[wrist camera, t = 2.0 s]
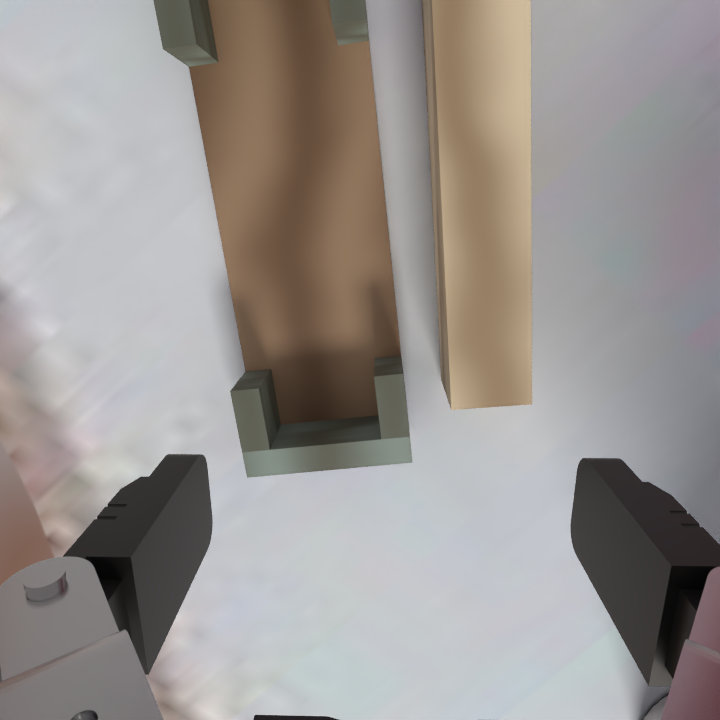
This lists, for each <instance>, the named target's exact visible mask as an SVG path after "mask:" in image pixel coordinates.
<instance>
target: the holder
mask: <svg viewBox="0 0 720 720" xmlns="http://www.w3.org/2000/svg"><path fill="white" fill-rule="evenodd" d="M154 5H155V10H156V15H157V20H158V25H159V30H160V35H161V41H162V46H163V49H164V50H165V51H167V52H168V53H170V54H171V55H173V56H174V57H175V58H177V59H178V60H180V61H181V62H183V63H184V64H186V65H187V66H189V69H190V74H191V79H192V85H193V90H194V96H195V101H196V106H197V112H198V117H199V123H200V128H201V133H202V139H203V144H204V149H205V155H206V160H207V166H208V171H209V176H210V182H211V187H212V192H213V198H214V203H215V209H216V214H217V219H218V225H219V230H220V235H221V241H222V246H223V252H224V257H225V262H226V268H227V273H228V278H229V284H230V289H231V295H232V300H233V305H234V311H235V316H236V321H237V327H238V332H239V338H240V343H241V348H242V354H243V359H244V364H245V370H246V372H245V373H244V374H243V376H242V377H241V378H240V380H239V381H238V382H237V383H236V385H235V386H234V387H233V389H232V390H231V391H230V392H231V397H232V402H233V407H234V412H235V418H236V423H237V428H238V433H239V438H240V443H241V448H242V453H243V458H244V463H245V469H246V474H247V477H258V476H269V475H280V474H291V473H302V472H313V471H324V470H335V469H346V468H357V467H368V466H379V465H390V464H401V463H412V454H411V444H410V434H409V424H408V414H407V405H406V395H405V385H404V375H403V367H402V359H401V350H400V341H399V331H398V321H397V311H396V302H395V292H394V282H393V272H392V263H391V253H390V243H389V233H388V224H387V214H386V204H385V194H384V185H383V175H382V165H381V155H380V146H379V136H378V126H377V116H376V107H375V97H374V87H373V77H372V68H371V58H370V48H369V37H368V25H367V13H366V4H365V0H154Z"/></svg>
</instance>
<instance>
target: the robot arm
mask: <svg viewBox="0 0 720 720" xmlns="http://www.w3.org/2000/svg"><path fill="white" fill-rule="evenodd" d="M211 534H212V510H211V500H210V489H209V479H208V469H207V462H206V459H205V457H204V455H192V454H168V455H166V456H165V458H164V459H163V460H162V461H161V463H160V464H159V465H158V466H157V468H156V469H155V470H154V471H153V473H152V474H151V475H150V476H149V477H140V478H138V479H137V480H135V481H133V482H132V483H130V484H128V485H127V486H125V487H124V488H122V489H120V491H119V492H118V493H117V494H116V495H115V496H114V498H113V499H112V500H111V501H110V502H109V503H108V507H105V508H104V509H103V510H102V512H101V513H100V514H99V515H98V516H97V519H95V520H94V521H93V522H92V523H91V524H90V525H89V527H88V528H87V529H86V530H85V531H84V532H83V534H82V535H81V536H80V537H79V538H78V539H77V541H76V542H75V543H74V544H73V545H72V546H71V548H70V549H69V550H68V551H67V552H66V553H65V555H64V556H63V557H57V558H52V559H47V560H44V561H41V562H38V563H35V564H32V565H30V566H28V567H26V568H24V569H22V570H21V571H19V572H17V573H15V574H14V575H13V576H11V577H10V578H9V579H7V580H6V581H5V582H4V583H3V584H2V585H1V586H0V720H164V719H163V717H162V714H161V712H160V710H159V707H158V705H157V702H156V700H155V697H154V695H153V692H152V690H151V688H150V685H149V683H148V680H147V678H146V675H145V674H149V673H150V670H151V668H152V666H153V664H154V662H155V660H156V658H157V656H158V653H159V651H160V649H161V647H162V645H163V643H164V641H165V639H166V636H167V634H168V632H169V630H170V628H171V626H172V624H173V622H174V620H175V617H176V615H177V613H178V611H179V609H180V607H181V605H182V603H183V600H184V598H185V596H186V594H187V592H188V590H189V588H190V586H191V583H192V581H193V579H194V577H195V575H196V573H197V571H198V569H199V567H200V564H201V562H202V560H203V558H204V556H205V554H206V552H207V550H208V547H209V544H210V540H211ZM571 538H572V544H573V548H574V551H575V553H576V555H577V557H578V559H579V561H580V562H581V564H582V566H583V568H584V570H585V571H586V573H587V575H588V577H589V579H590V581H591V582H592V584H593V586H594V588H595V590H596V591H597V593H598V595H599V597H600V599H601V600H602V602H603V604H604V606H605V608H606V610H607V611H608V613H609V615H610V617H611V619H612V620H613V622H614V624H615V626H616V628H617V629H618V631H619V633H620V635H621V637H622V638H623V640H624V642H625V644H626V646H627V648H628V649H629V651H630V653H631V655H632V657H633V658H634V660H635V662H636V664H637V666H638V667H639V669H640V671H641V673H642V675H643V677H644V678H645V680H646V682H647V684H648V686H671V688H670V691H669V694H668V696H666V697H665V698H663V699H661V700H660V701H659V702H658V703H657V704H656V705H654V706H653V707H652V708H651V710H650V711H649V712H648V714H647V715H646V716H645V717H644V720H720V545H719V544H718V543H717V542H716V541H715V540H714V539H713V538H712V536H711V535H710V534H709V533H708V532H707V531H706V530H705V529H704V528H703V527H699V523H698V522H697V521H696V520H695V519H694V518H693V517H692V516H691V515H690V514H687V511H686V510H685V509H684V508H683V507H682V506H681V505H680V504H679V503H678V502H677V501H676V500H675V499H674V497H673V496H672V495H670V494H668V493H666V492H665V491H663V490H661V489H660V488H658V487H656V486H654V485H653V484H651V483H649V482H642V481H641V480H640V479H639V478H638V477H637V476H636V475H635V473H634V472H633V471H632V470H631V469H630V468H629V467H628V466H627V465H626V464H625V463H624V461H622V460H621V459H618V458H583V459H581V461H580V462H579V465H578V469H577V476H576V485H575V493H574V501H573V509H572V517H571ZM254 720H338V719H334V718H331V717H325V716H278V715H255V716H254Z"/></svg>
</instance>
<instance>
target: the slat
mask: <svg viewBox="0 0 720 720" xmlns="http://www.w3.org/2000/svg"><path fill="white" fill-rule="evenodd" d="M422 15H423V35H424V54H425V73H426V92H427V112H428V131H429V150H430V169H431V189H432V208H433V227H434V246H435V265H436V285H437V304H438V323H439V342H440V362H441V380H442V383H443V386H444V389H445V392H446V395H447V398H448V401H449V404H450V407H451V410H456V409H470V408H484V407H499V406H513V405H527V404H532V259H531V0H422Z"/></svg>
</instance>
